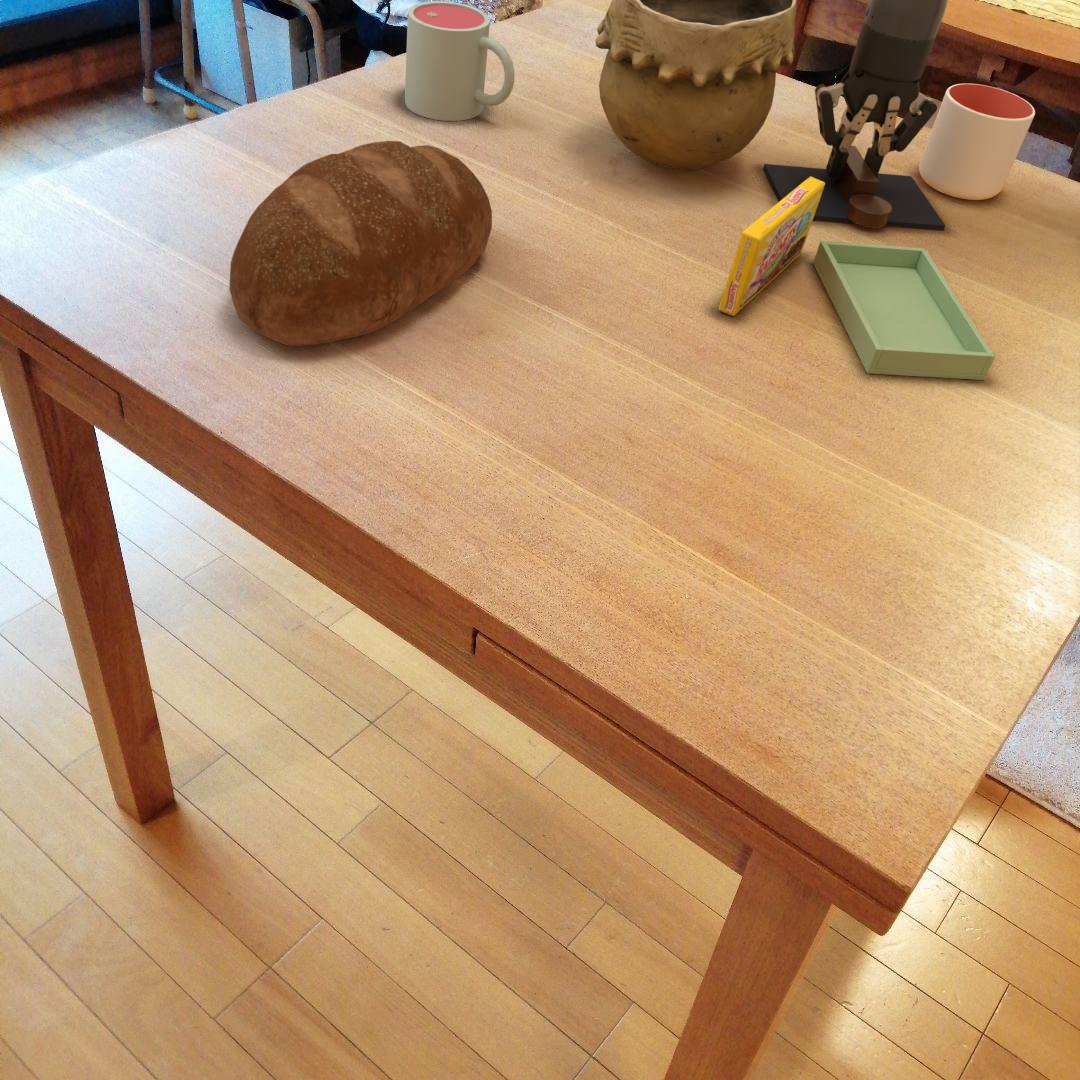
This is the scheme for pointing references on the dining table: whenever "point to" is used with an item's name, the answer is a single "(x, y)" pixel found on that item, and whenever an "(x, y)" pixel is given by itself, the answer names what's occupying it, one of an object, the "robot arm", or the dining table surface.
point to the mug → (451, 61)
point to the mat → (832, 206)
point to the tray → (901, 312)
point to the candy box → (771, 245)
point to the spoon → (862, 193)
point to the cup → (975, 141)
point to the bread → (357, 242)
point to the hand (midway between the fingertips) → (849, 180)
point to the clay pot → (692, 74)
